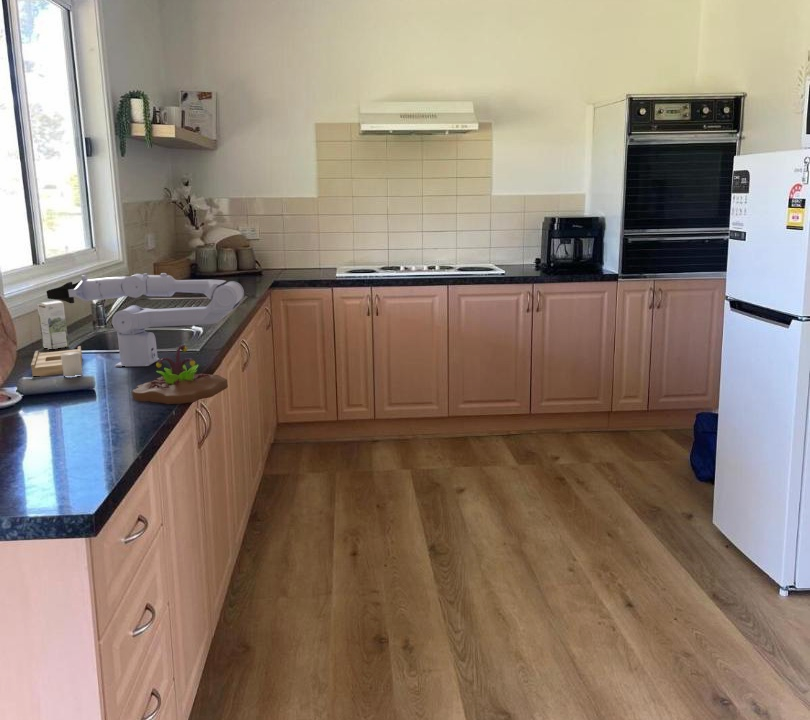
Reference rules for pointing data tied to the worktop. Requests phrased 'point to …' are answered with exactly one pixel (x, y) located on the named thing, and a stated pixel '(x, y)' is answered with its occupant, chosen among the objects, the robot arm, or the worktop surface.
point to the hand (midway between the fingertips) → (54, 293)
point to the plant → (180, 383)
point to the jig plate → (49, 362)
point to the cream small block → (71, 364)
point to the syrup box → (53, 324)
